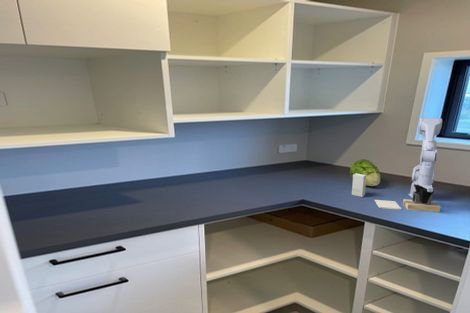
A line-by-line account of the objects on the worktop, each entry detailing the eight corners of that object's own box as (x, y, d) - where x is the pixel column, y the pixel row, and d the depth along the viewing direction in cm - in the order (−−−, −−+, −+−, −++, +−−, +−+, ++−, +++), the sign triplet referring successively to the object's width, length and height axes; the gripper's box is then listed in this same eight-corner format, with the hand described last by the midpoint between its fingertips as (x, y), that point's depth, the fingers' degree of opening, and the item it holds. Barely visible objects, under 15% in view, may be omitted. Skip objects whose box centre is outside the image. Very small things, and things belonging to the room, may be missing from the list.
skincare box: (365, 195, 161) (367, 174, 158) (362, 197, 158) (364, 176, 155) (354, 193, 165) (356, 172, 162) (350, 194, 162) (353, 174, 159)
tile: (374, 200, 153) (374, 199, 153) (394, 202, 151) (394, 201, 151) (379, 207, 144) (379, 206, 143) (401, 209, 141) (401, 208, 141)
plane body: (402, 204, 148) (404, 194, 147) (432, 206, 145) (434, 196, 144) (407, 209, 141) (409, 199, 140) (439, 212, 138) (441, 201, 137)
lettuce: (358, 193, 172) (369, 172, 164) (341, 173, 189) (351, 154, 182) (380, 195, 176) (392, 175, 169) (362, 175, 193) (372, 156, 186)
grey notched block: (412, 200, 145) (413, 191, 144) (427, 201, 144) (429, 192, 143) (415, 203, 141) (416, 194, 140) (430, 204, 140) (432, 195, 139)
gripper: (411, 170, 147) (407, 195, 150) (422, 178, 133) (418, 205, 136) (426, 171, 146) (422, 196, 149) (439, 179, 132) (435, 207, 135)
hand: (421, 201), depth 142 cm, fingers open, 5 cm apart
